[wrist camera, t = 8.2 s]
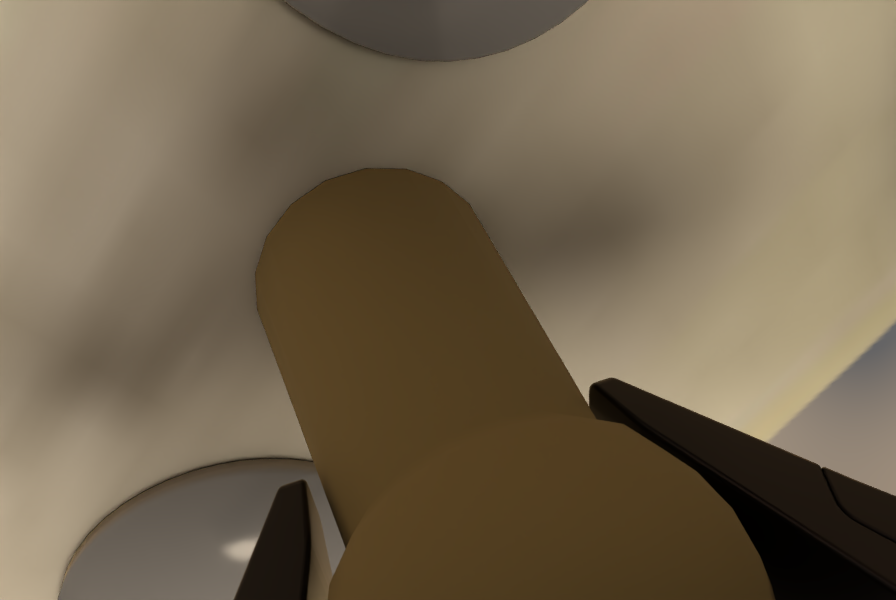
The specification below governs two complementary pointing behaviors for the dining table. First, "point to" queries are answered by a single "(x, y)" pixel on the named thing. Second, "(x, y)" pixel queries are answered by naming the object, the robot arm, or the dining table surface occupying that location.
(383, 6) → the coaster
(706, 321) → the dining table surface
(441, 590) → the brown rounded piece
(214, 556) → the coaster empty
